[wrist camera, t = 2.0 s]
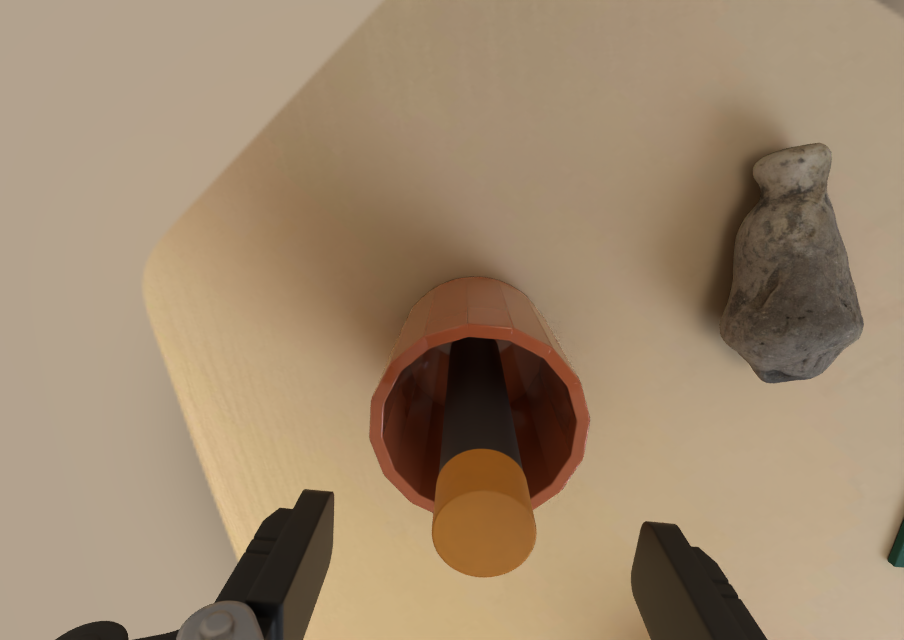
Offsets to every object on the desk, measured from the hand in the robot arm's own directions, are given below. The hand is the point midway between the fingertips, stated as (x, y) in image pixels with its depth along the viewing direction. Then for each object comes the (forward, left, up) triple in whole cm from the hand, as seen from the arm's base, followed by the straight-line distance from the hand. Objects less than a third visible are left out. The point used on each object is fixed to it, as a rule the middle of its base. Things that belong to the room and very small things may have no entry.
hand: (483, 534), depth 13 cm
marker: (0, 0, -14) cm, 14 cm away
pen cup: (0, 0, -15) cm, 15 cm away
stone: (-6, +14, -15) cm, 21 cm away
